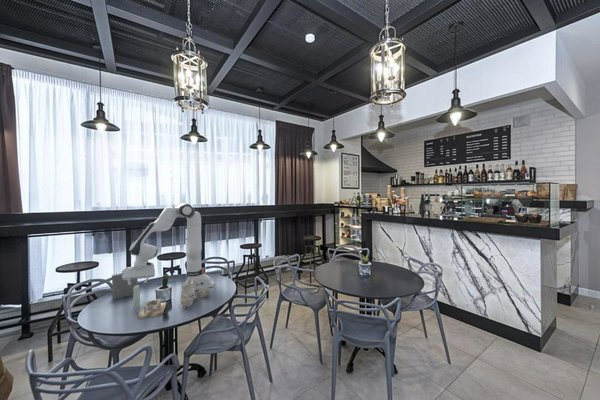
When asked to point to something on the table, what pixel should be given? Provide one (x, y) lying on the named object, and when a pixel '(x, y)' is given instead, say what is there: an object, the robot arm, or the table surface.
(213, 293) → the table surface
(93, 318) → the table surface
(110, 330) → the table surface
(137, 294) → the slat
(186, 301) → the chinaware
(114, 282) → the hip flask
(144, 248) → the robot arm
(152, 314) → the end cap stand
